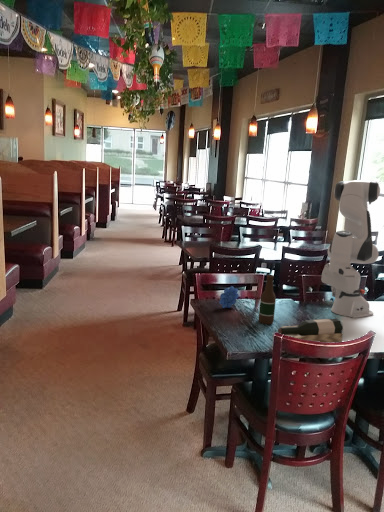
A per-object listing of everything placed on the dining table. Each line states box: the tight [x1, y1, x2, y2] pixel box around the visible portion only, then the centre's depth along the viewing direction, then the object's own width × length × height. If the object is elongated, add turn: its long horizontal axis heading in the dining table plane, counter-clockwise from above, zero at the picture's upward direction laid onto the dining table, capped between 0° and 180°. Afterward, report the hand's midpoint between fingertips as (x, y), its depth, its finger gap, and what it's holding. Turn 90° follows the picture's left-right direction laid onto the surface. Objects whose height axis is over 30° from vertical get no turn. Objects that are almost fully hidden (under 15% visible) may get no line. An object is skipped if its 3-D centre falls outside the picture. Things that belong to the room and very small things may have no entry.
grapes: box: [219, 285, 239, 309], centre depth 228 cm, size 12×7×12 cm, turn 116°
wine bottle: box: [277, 318, 344, 336], centre depth 191 cm, size 8×8×30 cm
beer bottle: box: [257, 274, 277, 325], centre depth 208 cm, size 8×8×24 cm
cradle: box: [283, 325, 343, 343], centre depth 192 cm, size 24×13×4 cm, turn 107°
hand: (335, 297), depth 192 cm, fingers closed
